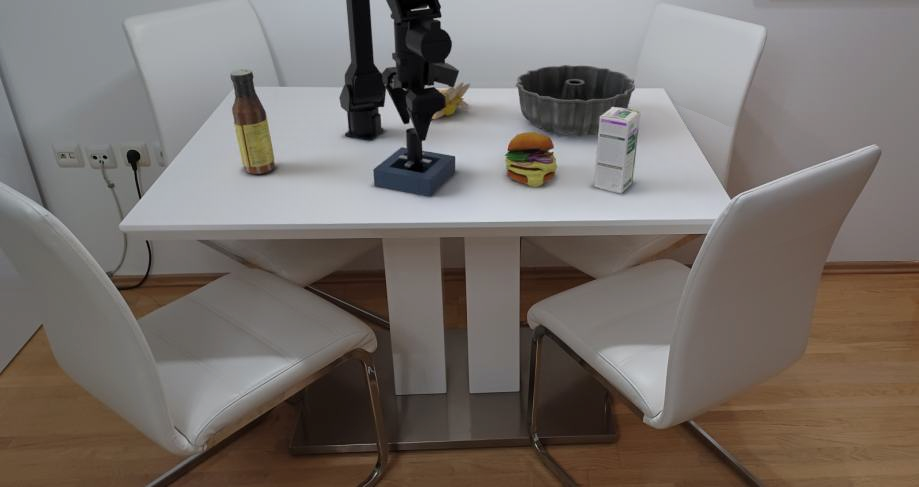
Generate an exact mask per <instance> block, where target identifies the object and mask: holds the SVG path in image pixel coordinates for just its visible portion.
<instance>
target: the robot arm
mask: <svg viewBox="0 0 919 487" xmlns="http://www.w3.org/2000/svg"><path fill="white" fill-rule="evenodd" d="M385 1H386V3H387V6H388V8H389V10H390V12H391V13H390V19H391V20H393V35H394V37H393V38H394V52H391V58H392V60H393V61H394V62H395V66H391V67H386V68H385V69H384V70H383V71H382V72H381V71H380V70H379V69H378V67H377V66H376V64H375V61H374V44H373V42H374V41H373V29H372V27H373V26H372V14H371V0H345V4H346V15H347V28H348V40H349V52H350V63H349V65H348V67H347V70H346V71H345V74H344V85H343V87H342V90H341V91H340V94H339V97H338V98H339V103H340V107H341V109H342V110H343V111H345V112H346V115H347V116H346V117H347V123H348V124H347V128H348V131H347V132H345V133H344V136H345V137H347V138H354V139H355V138H356V139H360V140H367V141H371V140H372V139H374V138H375V137H377V136H378V135H379V134H381V133H383V131H384V128H383V127H382V115H381V113H380V111H379V108H385V102H386V95H387V94H386V93H388V95H389V97H390V99H391V100H392V103H393V105H394V108H395V110H396V111H397V113H398V115H399V117H400V120H401V121H402V124H403V125H409V124H410V121H411V123H412V126H413V128H414V129H415V131H416V134H417V136H418V139H419V140H420V141H422V142H425V141H426V139H427V136H428V133H429V129H430V126H431V123H432V120H433V119H432V117H433V115H434V114H435V113H436V112H438V111H441V110H442V109H444V108H445V107H446V97H445V96H444V95H443V94H442V93H441V92H439V91H438V89H437V88H436V87H435V83H438V84H443V85H446V86H448V88H451V87H453V88H455V85H456V82H457V79H458V76H459V73H460V70H459V69H457V67H455V66H453V65H452V64H450V63H448V62H446V59H447V58H448V57H449V56H450V54H451V51H452V48H453V40H452V39H451V36H450V34H449V33H448V32H447V31H446V30H445V29H443V28H442V22H441V20H439V19H441V18H442V12H441V8H442V6H441V3H440V1H439V0H385ZM426 86H428V87H426Z"/></svg>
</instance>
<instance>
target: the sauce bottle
mask: <svg viewBox="0 0 919 487" xmlns="http://www.w3.org/2000/svg"><path fill="white" fill-rule="evenodd" d="M229 74H230V80H231V82H232V85H233V90H234V96H235V97H234V103H233V105H232V107H231V112H232V116H233V121H234V122H233V124H234V129H235V133H236V134H235V135H236V138H237V143H238V148H239V154H240V158H241V162H242V165H243V169H244V172H245V173H248V174H251V175H262V174H267V173H269V172H271V171H272V170H274V169H275V155H274V148H273V143H272V137H271V133H270V127H269V122H268V117H267V112H266V110H265V108H264V105H263V104H262V102H261V100H260V98H259V96H258V94H257V91H256V89H255V83H254V73H253V71H252V70H251V69H247V68H244V69H243V68H241V69H236V70H233V71H231V72H230V73H229Z"/></svg>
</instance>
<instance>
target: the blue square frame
mask: <svg viewBox="0 0 919 487" xmlns="http://www.w3.org/2000/svg"><path fill="white" fill-rule="evenodd" d="M422 152H423V153H425V155H424V156H423V159H427V160H432V162H431V163H430V164H424V163H423V167H426V168H428V170H427V171H426V172H425V173H420V172H415V171H409V170H403V168H406V167H405V166H404V165H405V164H406V163H407V160H401V159H398V157H399V156H400V155H404V156H407V147H403V146H400V148H398V149H397V150H396V151H394V153H392V154H391V155H390V156H388V157H387V158H386V159H384V160H383V161H381V163H380V164H378V165H377V166H376V167H374V168H373V169H372V170H373V184H374V187H377V188H383V189H388V190H393V191H399V192H404V193H410V194H415V195H420V196H426V197H432V195H434V194H435V193H436V192H437V191H438V189H440V188H441V187H442V186H443V185H444V184H445V183H446V182H447V181H448V180H449V179H450V178H451V177H452V176H453V175H454V174H455V173H456V156H455V155H451V154H444V153H439V152H433V151H428V150H422Z"/></svg>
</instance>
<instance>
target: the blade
mask: <svg viewBox="0 0 919 487" xmlns="http://www.w3.org/2000/svg"><path fill="white" fill-rule="evenodd" d="M405 138H406V139H405V144H406V146H405V147H406V148H407V156H404V155H400V156H399V157H398V159H401V160H407V163H406V164H405V165H404V166H405V167H406V168H403V170H409V171H415V172H420V173H425V172H426V171H427V170H428V168H426V167H423V163H424V164H430V163H431V162H432V160H427V159H423V156H424V155H425V153H423V152H422V151H423V141H420V140H419V139H418V136H417V134H416V131H415V129H414V127H409V128H407V129H406V130H405Z"/></svg>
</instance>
